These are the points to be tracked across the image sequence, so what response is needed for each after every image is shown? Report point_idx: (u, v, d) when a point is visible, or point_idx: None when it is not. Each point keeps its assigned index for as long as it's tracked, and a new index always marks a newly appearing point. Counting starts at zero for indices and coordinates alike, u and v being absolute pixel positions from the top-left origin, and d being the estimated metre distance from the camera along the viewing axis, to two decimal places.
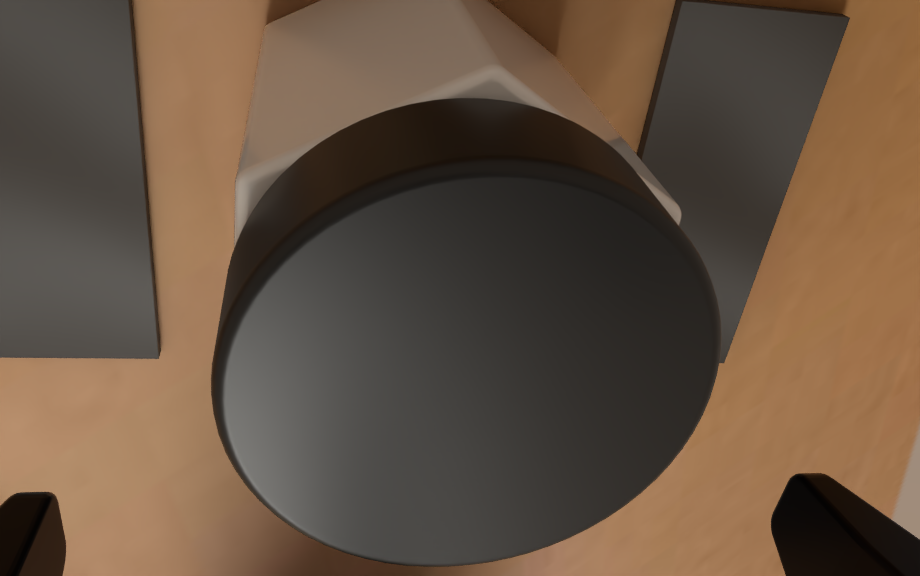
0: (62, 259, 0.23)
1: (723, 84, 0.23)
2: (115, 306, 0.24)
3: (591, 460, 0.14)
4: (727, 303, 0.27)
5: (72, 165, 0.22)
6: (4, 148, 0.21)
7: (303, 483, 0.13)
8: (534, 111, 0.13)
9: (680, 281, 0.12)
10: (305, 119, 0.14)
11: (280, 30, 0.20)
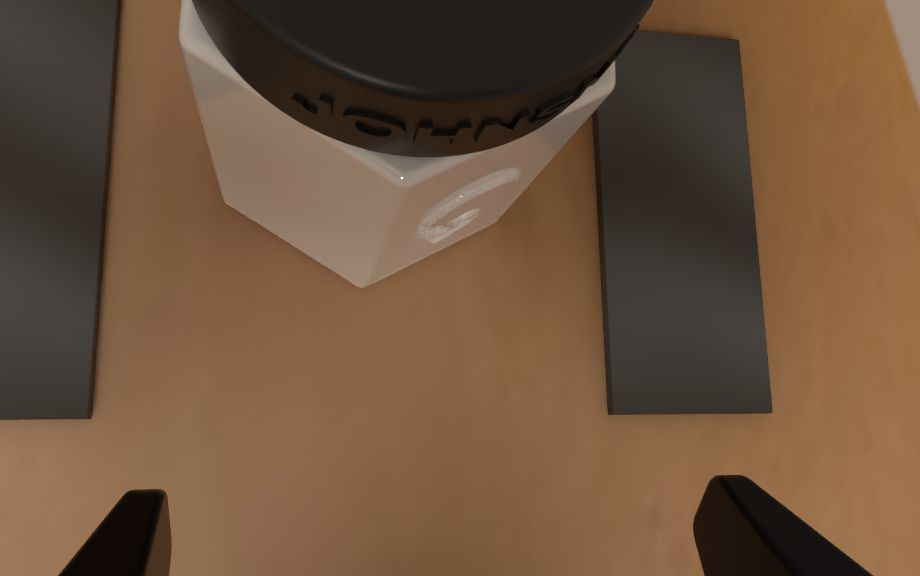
0: None
1: (652, 94, 0.26)
2: (46, 342, 0.21)
3: None
4: (744, 328, 0.25)
5: (33, 173, 0.21)
6: None
7: None
8: None
9: None
10: None
11: None
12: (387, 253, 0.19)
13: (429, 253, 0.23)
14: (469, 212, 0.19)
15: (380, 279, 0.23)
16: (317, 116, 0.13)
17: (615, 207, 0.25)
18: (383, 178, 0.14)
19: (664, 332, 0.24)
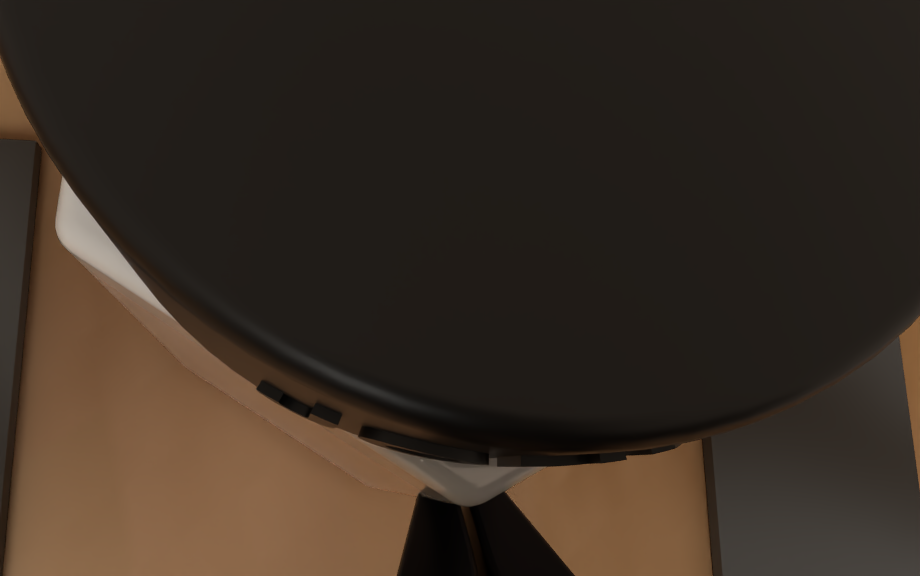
0: None
1: None
2: None
3: (851, 82, 0.06)
4: None
5: None
6: None
7: (169, 65, 0.05)
8: None
9: None
10: None
11: None
12: None
13: None
14: None
15: None
16: (309, 419, 0.06)
17: (727, 432, 0.18)
18: (430, 488, 0.08)
19: None
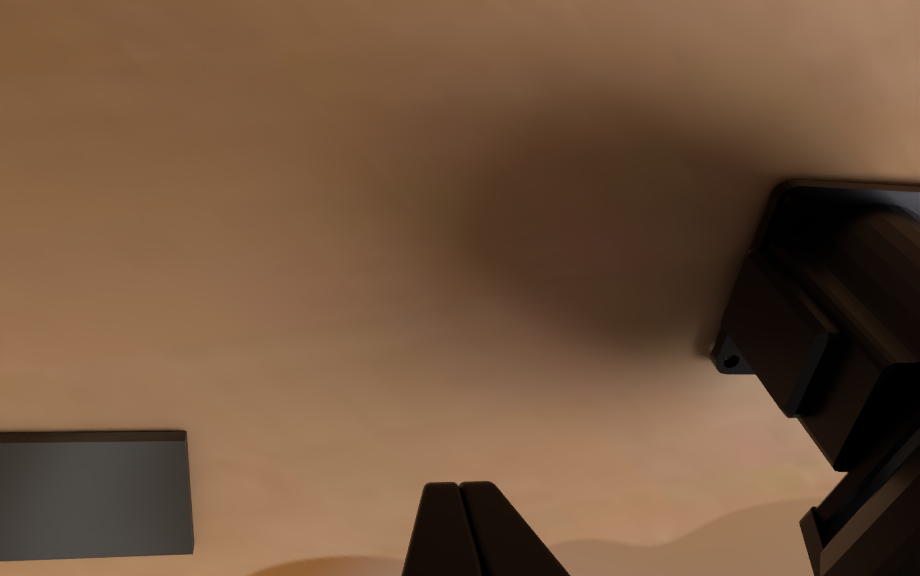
0: (67, 500, 0.24)
1: None
2: (119, 468, 0.24)
3: None
4: None
5: None
6: None
7: None
8: None
9: None
10: None
11: None
12: None
13: None
14: None
15: None
16: None
17: None
18: None
19: None
